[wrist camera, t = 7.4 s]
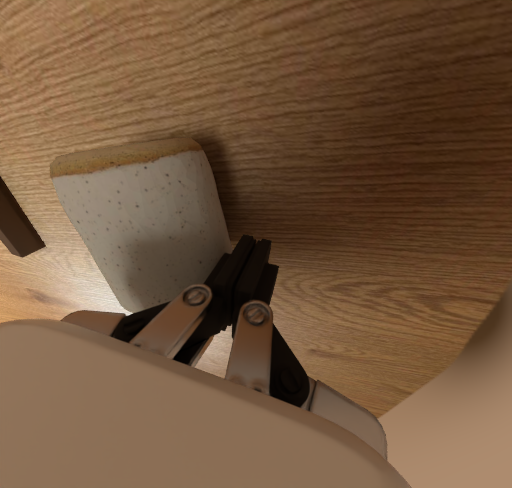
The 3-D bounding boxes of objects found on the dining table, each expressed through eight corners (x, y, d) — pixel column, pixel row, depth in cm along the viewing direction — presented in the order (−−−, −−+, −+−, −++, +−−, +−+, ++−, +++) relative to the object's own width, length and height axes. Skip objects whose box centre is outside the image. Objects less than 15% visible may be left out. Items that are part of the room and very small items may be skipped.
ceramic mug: (224, 125, 11) (103, 142, 5) (249, 244, 15) (200, 331, 9) (99, 151, 15) (-61, 180, 9) (148, 242, 19) (64, 305, 13)
